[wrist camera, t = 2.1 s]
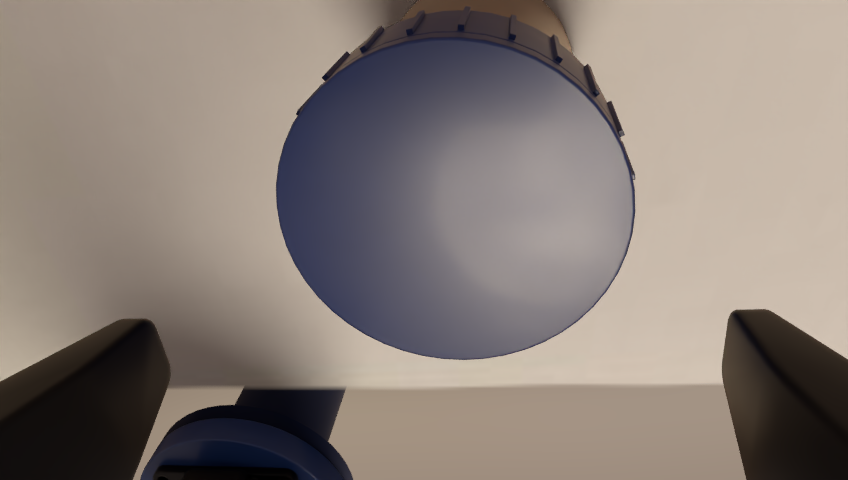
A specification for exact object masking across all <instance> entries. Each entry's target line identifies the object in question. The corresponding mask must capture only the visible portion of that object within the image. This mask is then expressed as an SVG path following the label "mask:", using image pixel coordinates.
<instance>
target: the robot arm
mask: <svg viewBox="0 0 848 480" xmlns="http://www.w3.org/2000/svg"><path fill="white" fill-rule="evenodd" d="M170 376H171V369H170V363H169V360H168V358H167V355H166V352H165V350H164V347H163V344H162V342H161V339H160V336H159V334H158V331H157V328H156V326H155V325H154V323H153V322H152V321H150V320H148V319H121V320H118V321H116V322H114V323H112V324H110V325H108V326H106V327H104V328H102V329H100V330H98V331H97V332H95V333H93V334H91V335H89V336H87V337H85V338H83V339H81V340H79V341H77V342H75V343H74V344H72V345H70V346H68V347H66V348H64V349H62V350H60V351H58V352H56V353H54V354H52V355H51V356H49V357H47V358H45V359H43V360H41V361H39V362H37V363H35V364H33V365H31V366H29V367H28V368H26V369H24V370H22V371H20V372H18V373H16V374H14V375H12V376H10V377H8V378H6V379H5V380H3V381H1V382H0V480H133V477H134V475H135V472H136V470H137V467H138V465H139V463H140V460H141V457H142V455H143V452H144V449H145V446H146V444H147V441H148V438H149V436H150V433H151V430H152V428H153V425H154V422H155V419H156V417H157V414H158V411H159V409H160V406H161V403H162V400H163V398H164V395H165V392H166V390H167V387H168V384H169V381H170ZM722 377H723V383H724V388H725V392H726V396H727V400H728V404H729V409H730V413H731V416H732V421H733V425H734V429H735V434H736V438H737V442H738V446H739V450H740V454H741V459H742V463H743V466H744V471H745V475H746V479H747V480H848V359H846V358H845V357H843V356H841V355H840V354H838V353H837V352H835V351H833V350H832V349H830V348H829V347H827V346H826V345H824V344H822V343H821V342H819V341H818V340H816V339H814V338H813V337H811V336H810V335H808V334H807V333H805V332H803V331H802V330H800V329H799V328H797V327H795V326H794V325H792V324H791V323H789V322H788V321H786V320H784V319H783V318H781V317H780V316H778V315H776V314H775V313H773V312H771V311H769V310H765V309H755V310H735V311H733V312H732V313H731V314H730V316H729V319H728V324H727V331H726V338H725V346H724V353H723V360H722ZM153 480H299V479H298V476H297V474H296V473H295V472H294V471H293V470H291V469H288V468H270V467H228V466H186V465H161V466H159V467H158V468H157V470H156V471H155V473H154V475H153Z"/></svg>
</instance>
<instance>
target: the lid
mask: <svg viewBox="0 0 848 480" xmlns="http://www.w3.org/2000/svg"><path fill="white" fill-rule="evenodd" d="M322 78H323V79H324V81H325V82H324V83H323V84H321V86H320V87H319V88H318V89H317V90H316V91H315V92H314V93H313V94H312V95H311V96H310V98H309V99H308V100H307V101H306V102H305V103H304V104H303V105H302V106H301V107H300V108H299V110H298V111H297V113H296V115H298V116H297V118H296V119H295V121H294V122H293V124H292V126H291V129H290V131H289V133H288V136H287V138H286V140H285V143H284V146H283V149H282V153H281V157H280V161H279V165H278V173H277V182H276V197H277V210H278V216H279V222H280V227H281V230H282V233H283V237H284V240H285V243H286V246H287V248H288V250H289V253H290V255H291V257H292V259H293V261H294V263H295V265H296V267H297V268H298V270H299V272H300V273H301V275H302V276H303V278H304V280H305V281H306V282H307V284H308V285H309V286H310V287H311V289H312V290H313V291H314V292H315V294H316V295H317V296H318V297H319V298H320V299H321V300H322V301H323V302H324V303H325V304H326V305H327V306H328V307H329V308H330V309H331V310H332V311H333V312H334V313H335V314H337V315H338V316H339V317H341V318H342V319H343V320H344V321H346V322H347V323H348V324H350V325H351V326H353V327H354V328H356V329H358V330H359V331H361V332H362V333H364V334H366V335H368V336H370V337H372V338H374V339H376V340H378V341H380V342H382V343H384V344H387V345H389V346H392V347H395V348H397V349H400V350H403V351H407V352H410V353H414V354H418V355H422V356H428V357H435V358H441V359H459V360H468V359H485V358H491V357H497V356H503V355H508V354H511V353H515V352H518V351H522V350H525V349H528V348H530V347H533V346H535V345H538V344H540V343H543V342H545V341H547V340H548V339H550V338H552V337H554V336H556V335H558V334H560V333H561V332H563V331H564V330H566V329H567V328H569V327H570V326H571V325H573V324H574V323H576V322H577V321H578V320H579V319H581V318H582V317H583V316H584V315H585V314H586V313H587V312H588V311H589V310H590V309H591V308H593V307H594V305H595V304H596V303H597V302H598V301H599V299H600V298H601V297H602V296H603V295H604V294H605V292H606V291H607V290H608V288H609V286H610V285H611V283H612V282H613V280H614V279H615V277H616V275H617V274H618V272H619V270H620V267H621V265H622V263H623V261H624V259H625V256H626V254H627V251H628V247H629V244H630V240H631V237H632V233H633V225H634V217H635V189H634V183H633V180H635V173H634V171H633V168H632V165H631V163H630V160H629V158H628V155H627V152H626V150H625V147H624V144H623V142H622V141H621V138H620V137H622V136H624V135H625V134H624V132H623V129H622V127H621V124H620V122H619V119H618V117H617V114H616V112H615V109H614V107H613V104H612V102H611V101H610V102H606V100H605V98H604V96H603V94H602V92H601V90H600V88H599V86H598V84H597V83H596V81H595V78H594V75H593V72H592V69H591V67H590V66H589V65H588V64H587V65H586V66H583V65H582V64H581V63H580V61H579V60H578V59H577V58H576V57H575V56H574V55H573V54H572V53H571V52H570V51H568V50H567V49H566V48H565V47H563V46H562V45H561V44H560V43H559V39H558V37H557V36H556V35H554V34H553V35H552V37H550V36H548V35H546V34H545V33H543V32H541V31H540V30H538V29H536V28H534V27H532V26H530V25H527V24H525V23H522V22H520V21H518V20H517V16H516V15H513V14H511V16H510V18H509V17H505V16H501V15H497V14H493V13H488V12H479V11H471V7H469V6H465V8H464V10H455V11H440V12H434V13H428V14H425V11H424V10H422V11H419V12H418V13H417V15H416V16H415V17H413V18H409V19H406V20H403V21H400V22H398V23H396V24H394V25H392V26H390V27H387V28H385V29H383V27H382V26H380V27H378V28H377V29H376V30H375V31H374V32H373V34H372V35H371V36H370V37H369V38H368V39H367V40H366V41H365V42H363V43H362V44H361V45H360V46H359V47H358V48H357V49H355V50H354V51H353V52H352V53H351V54H349V53H348V52H346V53H345V54H344V55H343V56H342V57H341V58H340V59H339V60H338V61H337V62H336V63H335V64H334V65H333V66H332V67H331V68H330V69H329V70H328V71H327V73H326V74H325V75H324V76H323V77H322Z"/></svg>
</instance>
